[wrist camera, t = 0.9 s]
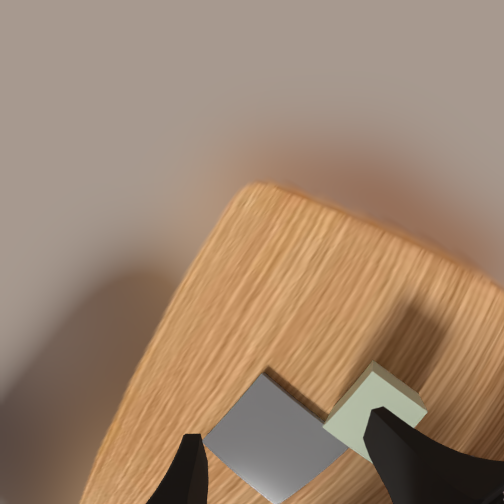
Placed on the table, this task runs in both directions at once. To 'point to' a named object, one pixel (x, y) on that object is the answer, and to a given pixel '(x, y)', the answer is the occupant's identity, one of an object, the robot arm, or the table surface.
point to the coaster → (273, 441)
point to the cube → (372, 406)
